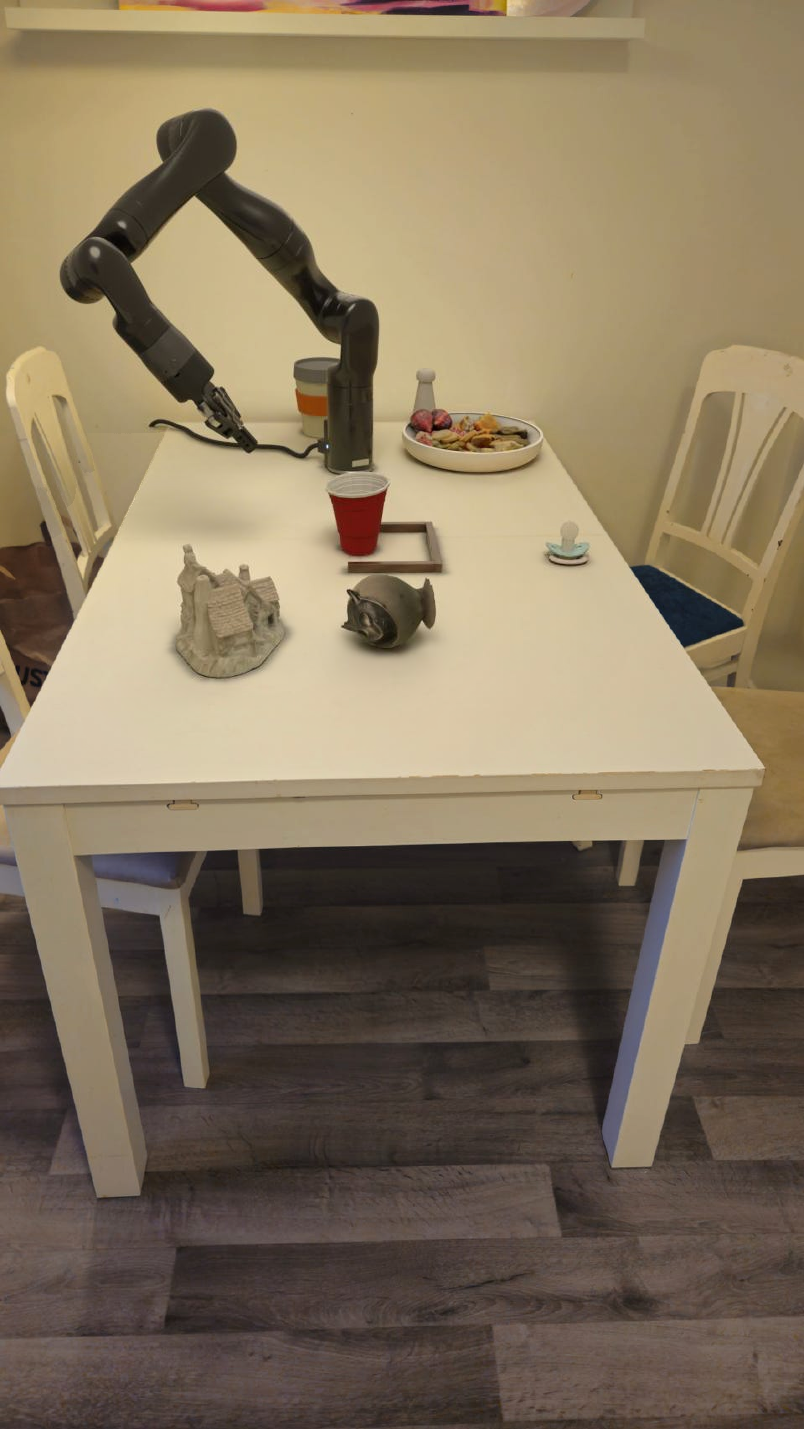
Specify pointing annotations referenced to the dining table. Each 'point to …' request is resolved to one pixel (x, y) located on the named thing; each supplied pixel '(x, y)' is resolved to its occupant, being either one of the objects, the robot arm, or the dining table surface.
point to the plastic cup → (358, 509)
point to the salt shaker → (425, 390)
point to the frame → (403, 565)
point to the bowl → (471, 440)
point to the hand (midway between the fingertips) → (253, 448)
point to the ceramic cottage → (226, 619)
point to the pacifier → (568, 546)
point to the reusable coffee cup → (312, 393)
